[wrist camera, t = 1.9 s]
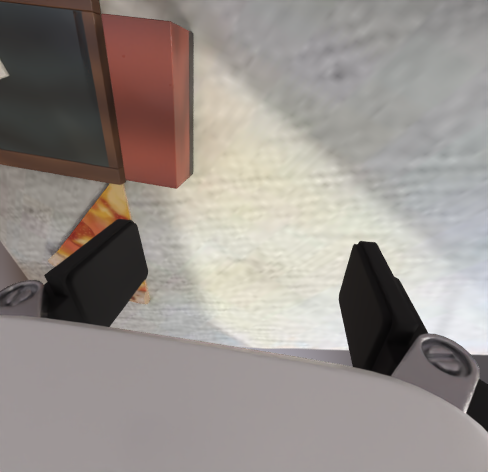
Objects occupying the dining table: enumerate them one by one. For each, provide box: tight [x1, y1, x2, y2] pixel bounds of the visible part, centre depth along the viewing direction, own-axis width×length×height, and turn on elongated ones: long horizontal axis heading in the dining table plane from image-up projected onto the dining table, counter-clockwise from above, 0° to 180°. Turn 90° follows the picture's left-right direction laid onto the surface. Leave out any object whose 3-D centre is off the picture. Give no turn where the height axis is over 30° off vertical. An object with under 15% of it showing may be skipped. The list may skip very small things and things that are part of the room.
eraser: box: [101, 14, 193, 188], centre depth 24 cm, size 13×6×5 cm, turn 174°
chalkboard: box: [0, 0, 126, 185], centre depth 27 cm, size 18×22×1 cm
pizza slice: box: [48, 183, 150, 304], centre depth 38 cm, size 16×22×2 cm
